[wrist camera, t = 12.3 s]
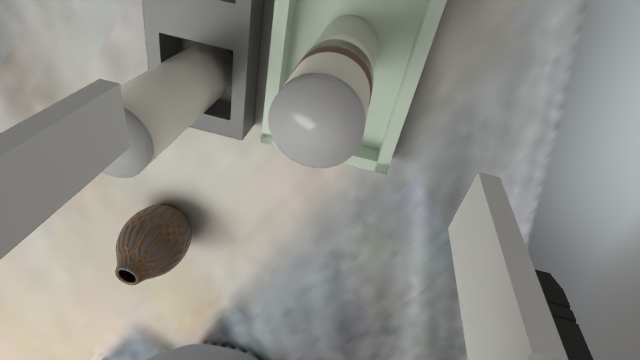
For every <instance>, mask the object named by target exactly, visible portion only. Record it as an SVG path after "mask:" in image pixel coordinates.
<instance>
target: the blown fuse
mask: <svg viewBox="0 0 640 360" xmlns="http://www.w3.org/2000/svg"><path fill="white" fill-rule="evenodd" d="M378 49H379V41H378V37H377V34H376V32H375V30H374V28H373V27H372V25H371V24H370V23H369V22H368V21H366V20H365V19H363V18H361V17H358V16H354V15H345V16H341V17H338V18H336V19H334V20H333V21H332V22H330V23H329V24H328V25H327V27H326V28H325V30H324V31H323V32H322V34H321V35H320V36H319V38H318V39H317V40H316V42H315V43H314V45H313V46H312V47H311V48H310V49H309V50H308V51H307V53H306V54H305V55H304V57H303V58H302V59H301V61H300V62H299V63H298V65H297V66H296V68H295V69H294V71H293V73H292V75H291V76H290V77H289V79H288V80H287V81H286V83H285V84H284V86H283V87H282V88H281V90H280V91H279V92H278V94H277V95H276V97H275V98H274V99H273V101H272V103H271V106H270V109H269V114H268V125H269V130H270V133H271V136H272V138H273V140H274V142H275V144H276V145H277V147H278V148H279V149H280V150H281V151H282V152H283V153H284V154H285V155H286V156H287V157H289V158H290V159H291V160H293V161H295V162H297V163H299V164H301V165H304V166H307V167H312V168H328V167H333V166H337V165H339V164H341V163H343V162H345V161H347V160H348V159H349V158H351V157H352V156H353V155H354V154H355V152H356V151H357V150H358V148H359V146H360V145H361V142H362V139H363V135H364V130H365V124H366V119H367V113H368V107H369V105H370V101H371V95H372V89H373V83H374V72H375V66H376V61H377V55H378Z"/></svg>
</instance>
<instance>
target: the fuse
mask: <svg viewBox="0 0 640 360" xmlns="http://www.w3.org/2000/svg"><path fill="white" fill-rule="evenodd" d="M232 73H233V56H232V54H231V53H230V52H229V51H228V49H224V48H220V47H216V46H212V45H208V44H204V43H200V42H197V43H195V44H194V45H192V46H190V47H188V48H187V49H185V50H183V51H181V52H180V53H178V54H176V55H174V56H173V57H171V58H169V59H167V60H165V61H164V62H162V63H160V64H158V65H157V66H155V67H153V68H151V69H150V70H148V71H146V72H144V73H143V74H141V75H139V76H137V77H136V78H134V79H132V80H130V81H129V82H127V83H125V84H123V85H121V86H120V87H121V93H122V100H123V106H124V113H125V119H126V126H127V132H128V138H129V145H130V148H129V149H128V150H127V151H125V152H124V153H123V154H122V155H121V156H120V157H118V158H117V159H116V160H115V161H114V162H113V163H112V164H110V165H109V166H108V167H107V168H106V169H105V170H103V171H102V172H103V173H105V174H107V175H110V176H113V177H118V178H130V177H133V176H136V175H137V174H139V173H140V172H141V171H142V170H143V169H144V168H145V167H146V166H148V165H149V164H150V163H151V162H152V161H153V160H154V159H155V158H156V157H157V156H158V155H159V154H160V153H161V152H162V151H164V150H165V149H166V148H167V147H168V146H169V145H170V144H171V143H172V142H173V141H174V140H175V139H176V138H177V137H178V136H179V135H181V134H182V133H183V132H184V131H185V130H186V129H187V128H188V127H189V126H190V125H191V124H192V123H193V122H194V121H195V120H197V119H198V118H199V117H200V116H201V115H202V114H203V113H204V112H205V111H206V110H207V109H208V108H209V107H210V106H211V105H212V104H214V103H215V102H216V101H217V100H218V99H219V98H220V97H221V96H222V95H223V94H224V93H225V92H226V91H227V90H228V89H230V88H231V87H232Z"/></svg>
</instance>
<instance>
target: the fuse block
mask: <svg viewBox="0 0 640 360" xmlns="http://www.w3.org/2000/svg"><path fill="white" fill-rule="evenodd" d="M142 7H143V18H144V29H145V39H146V50H147V61H148V70H150V69H151V68H153V67H155V66H157V65H158V64H160V63H162V62H164V61H165V60H167V59H169V58H171V57H173V56H174V55H176V54H178V53H180V51H179V37H180V38H184V39H188V40H192V41H196V42H200V43H204V44H208V45H212V46H216V47H220V48H224V49H229V50H233V73H232V96H231V103H228V102H224V101H220V100H217V101H216V102H215V103H214V104H212V105H211V106H210V107H209V108H208V109H207V110H206V111H205V112H204V113H203V114H202V115H201V116H200V117H199V118H198V119H197V120H195V121H194V122H193V123H192V124H191V125H190V126H189V127H191V128H195V129H199V130H203V131H207V132H211V133H215V134H219V135H223V136H227V137H230V138H234V139H238V140H243V139H244V137H245V136H246V135H247V133H248V132H249V131H250V129H251V128H252V127H253V125H254V115H255V103H256V91H257V79H258V67H259V56H260V44H261V32H262V20H263V8H264V0H142Z"/></svg>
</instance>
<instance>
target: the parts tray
mask: <svg viewBox="0 0 640 360" xmlns="http://www.w3.org/2000/svg"><path fill="white" fill-rule="evenodd" d="M446 2H447V0H275V3H274V13H273V23H272V33H271V43H270V53H269V63H268V73H267V83H266V93H265V103H264V113H263V123H262V133H261V143H264V144H268V145H272V146H276V147H277V145H276V144H275V142H274V140H273V138H272V136H271V133H270V130H269V125H268V114H269V109H270V106H271V103H272V101H273V99H274V98H275V97H276V95H277V94H278V92H279V91H280V90H281V88H282V87H283V86H284V84H285V83H286V81H287V80H288V79H289V77H290V76H291V75H292V73H293V71H294V69H295V68H296V66H297V65H298V63H299V62H300V61H301V59H302V58H303V57H304V55H305V54H306V53H307V51H308V50H309V49H310V48H311V47H312V46H313V45H314V43H315V42H316V40H317V39H318V38H319V36H320V35H321V34H322V32H323V31H324V30H325V28H326V27H327V25H328V24H329V23H330V22H332V21H333V20H334V19H336V18H338V17H341V16H345V15H354V16H358V17H361V18H363V19H365V20H366V21H368V22H369V23H370V24H371V25H372V27H373V28H374V30H375V32H376V34H377V37H378V41H379V49H378V55H377V61H376V66H375V72H374V83H373V89H372V95H371V101H370V105H369V107H368V113H367V119H366V124H365V130H364V135H363V139H362V142H361V145H360V146H359V148H358V150H357V151H356V152H355V154H354V155H353V156H352V157H351V158H349V159H348V160H347V161H345V162H343V163H342V164H346V165H350V166H354V167H358V168H362V169H366V170H370V171H374V172H378V173H382V174H385V175H386V173H387V170H388V167H389V164H390V162H391V159H392V156H393V153H394V150H395V147H396V144H397V142H398V139H399V136H400V133H401V130H402V127H403V124H404V122H405V119H406V116H407V113H408V110H409V107H410V105H411V102H412V99H413V96H414V93H415V90H416V87H417V85H418V82H419V79H420V76H421V73H422V70H423V67H424V65H425V62H426V59H427V56H428V53H429V50H430V48H431V45H432V42H433V39H434V36H435V33H436V30H437V28H438V25H439V22H440V19H441V16H442V13H443V10H444V8H445V5H446Z"/></svg>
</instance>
